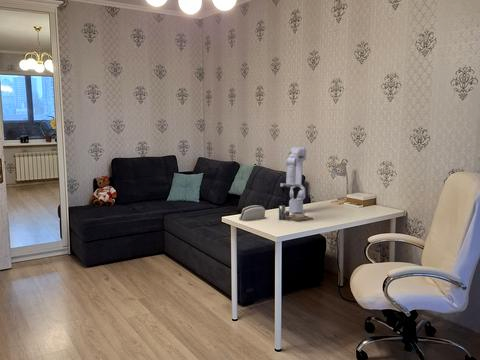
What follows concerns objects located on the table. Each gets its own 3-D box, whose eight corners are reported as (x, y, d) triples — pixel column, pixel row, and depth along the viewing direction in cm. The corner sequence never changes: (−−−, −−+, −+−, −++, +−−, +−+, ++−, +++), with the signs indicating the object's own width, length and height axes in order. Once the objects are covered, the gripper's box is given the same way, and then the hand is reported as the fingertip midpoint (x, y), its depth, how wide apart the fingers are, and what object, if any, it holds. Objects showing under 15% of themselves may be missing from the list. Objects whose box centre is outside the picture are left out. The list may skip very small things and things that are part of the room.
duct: (284, 217, 273) (284, 212, 273) (299, 215, 279) (299, 210, 279) (297, 221, 262) (297, 216, 261) (313, 219, 268) (313, 213, 267)
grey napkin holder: (261, 216, 278) (263, 203, 274) (264, 220, 274) (267, 206, 270) (238, 219, 270) (240, 205, 266) (241, 223, 267) (244, 209, 262)
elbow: (277, 219, 270) (277, 205, 268) (282, 218, 272) (282, 205, 270) (284, 221, 263) (284, 208, 262) (289, 220, 265) (290, 207, 264)
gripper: (285, 175, 256) (284, 198, 255) (304, 177, 263) (303, 199, 263) (278, 176, 262) (277, 198, 261) (297, 177, 269) (296, 199, 269)
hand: (290, 198), depth 262 cm, fingers open, 7 cm apart
